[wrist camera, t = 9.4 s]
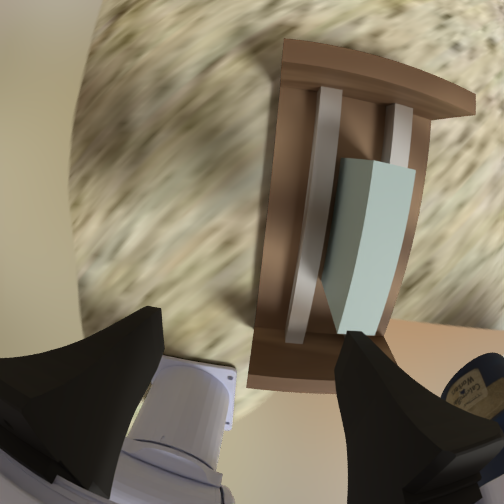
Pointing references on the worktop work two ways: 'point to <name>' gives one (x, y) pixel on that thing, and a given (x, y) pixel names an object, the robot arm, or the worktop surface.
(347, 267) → the door panel
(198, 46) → the worktop surface
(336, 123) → the track base
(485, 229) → the worktop surface
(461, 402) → the canister
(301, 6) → the worktop surface
